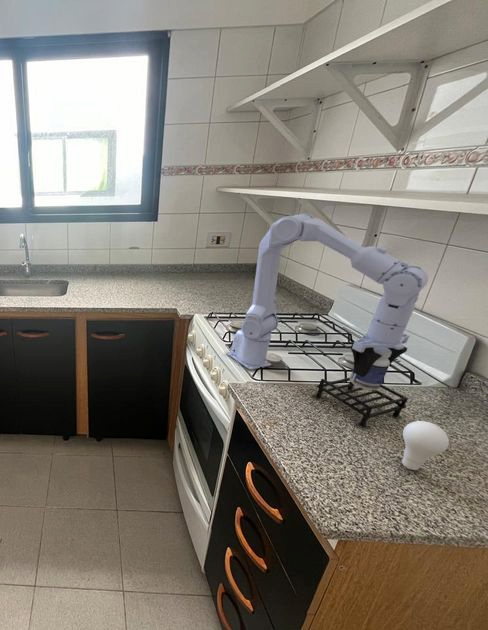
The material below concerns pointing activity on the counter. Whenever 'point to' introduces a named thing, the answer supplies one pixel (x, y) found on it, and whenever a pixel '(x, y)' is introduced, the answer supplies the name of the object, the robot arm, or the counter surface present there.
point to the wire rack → (369, 408)
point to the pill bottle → (373, 372)
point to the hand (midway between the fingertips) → (368, 372)
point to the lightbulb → (422, 443)
